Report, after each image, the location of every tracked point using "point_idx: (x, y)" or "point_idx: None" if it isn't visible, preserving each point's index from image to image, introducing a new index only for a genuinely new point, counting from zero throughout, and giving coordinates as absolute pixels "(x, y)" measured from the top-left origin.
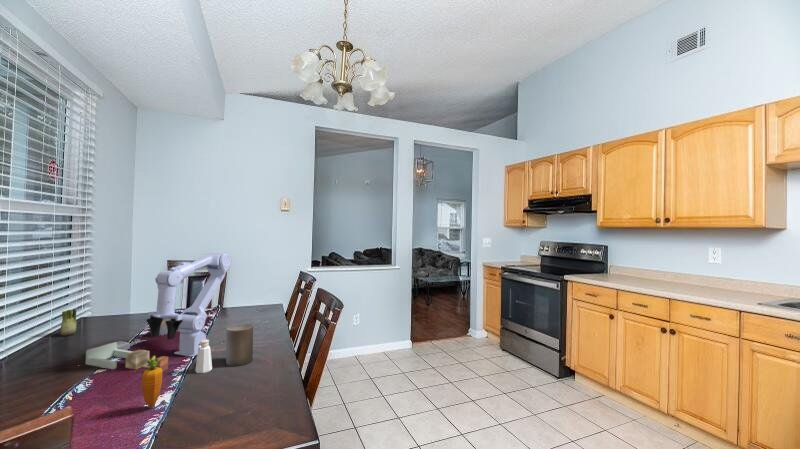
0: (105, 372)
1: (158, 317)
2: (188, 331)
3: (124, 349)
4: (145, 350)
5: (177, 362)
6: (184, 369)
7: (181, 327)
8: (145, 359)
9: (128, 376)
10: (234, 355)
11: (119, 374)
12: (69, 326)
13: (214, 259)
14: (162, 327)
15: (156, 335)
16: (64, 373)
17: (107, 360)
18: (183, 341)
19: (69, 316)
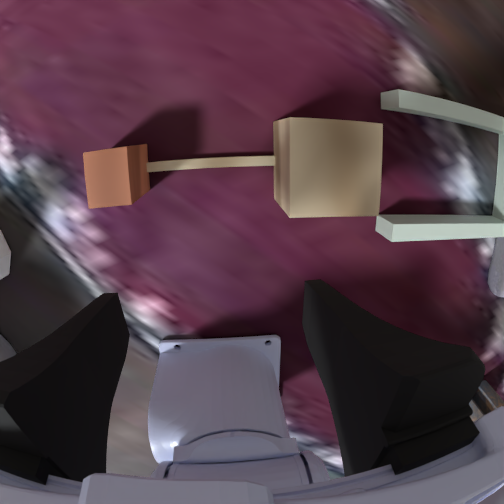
0: (376, 58)
1: (342, 482)
2: (197, 448)
3: (494, 268)
4: (328, 216)
5: (156, 271)
6: (49, 225)
7: (269, 463)
8: (280, 181)
9: (218, 50)
10: None
11: (289, 53)
12: None
13: None
14: (475, 418)
15: (306, 313)
16: (486, 39)
17: (444, 108)
18: (221, 391)
19: None
